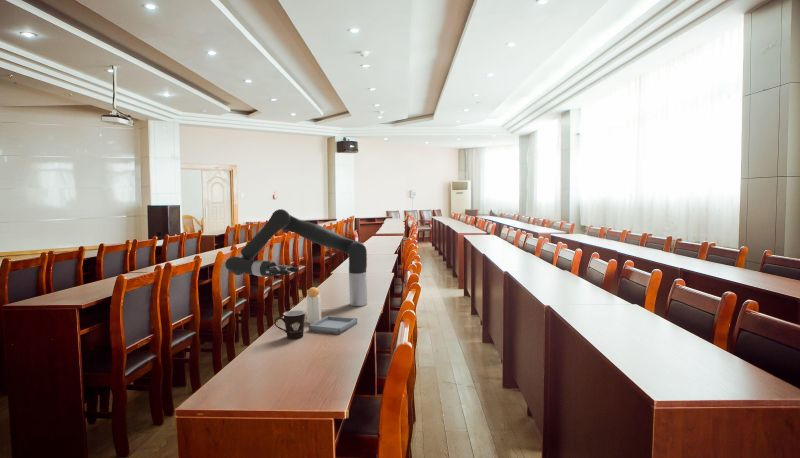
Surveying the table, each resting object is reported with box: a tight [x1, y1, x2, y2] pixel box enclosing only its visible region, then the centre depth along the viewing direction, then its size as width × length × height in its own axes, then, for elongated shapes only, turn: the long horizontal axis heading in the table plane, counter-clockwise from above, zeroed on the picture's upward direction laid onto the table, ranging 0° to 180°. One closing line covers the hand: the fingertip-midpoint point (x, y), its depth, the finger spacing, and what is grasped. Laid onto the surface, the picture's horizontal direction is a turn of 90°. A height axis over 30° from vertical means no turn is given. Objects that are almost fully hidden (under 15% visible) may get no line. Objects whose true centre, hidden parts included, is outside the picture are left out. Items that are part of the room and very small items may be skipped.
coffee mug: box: [274, 309, 306, 340], centre depth 181 cm, size 12×9×10 cm
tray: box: [308, 315, 358, 335], centre depth 193 cm, size 16×15×2 cm
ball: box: [307, 286, 320, 297], centre depth 202 cm, size 5×5×5 cm
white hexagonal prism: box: [306, 294, 322, 324], centre depth 202 cm, size 6×6×12 cm
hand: (293, 271), depth 204 cm, fingers open, 8 cm apart
